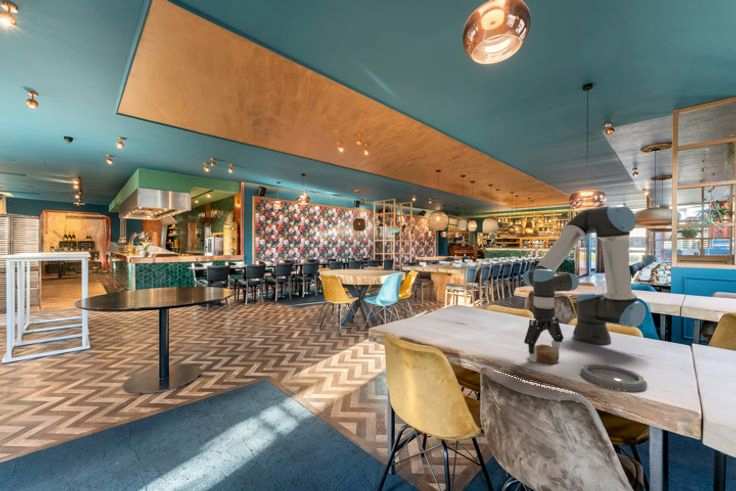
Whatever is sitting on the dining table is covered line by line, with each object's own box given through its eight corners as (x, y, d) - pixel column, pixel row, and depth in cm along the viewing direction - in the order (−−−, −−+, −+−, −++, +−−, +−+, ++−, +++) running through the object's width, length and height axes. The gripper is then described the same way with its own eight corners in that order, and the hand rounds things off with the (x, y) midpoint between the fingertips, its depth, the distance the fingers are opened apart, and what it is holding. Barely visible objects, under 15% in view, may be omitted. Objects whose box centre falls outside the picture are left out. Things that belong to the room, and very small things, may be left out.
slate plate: (600, 366, 117) (600, 360, 117) (659, 385, 100) (659, 379, 100) (568, 373, 110) (568, 367, 110) (625, 395, 93) (625, 388, 93)
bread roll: (553, 374, 118) (563, 357, 116) (526, 358, 123) (535, 342, 121) (553, 366, 126) (562, 350, 124) (528, 351, 131) (537, 336, 129)
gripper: (556, 303, 132) (556, 352, 132) (514, 307, 123) (514, 360, 123) (573, 306, 125) (573, 358, 125) (530, 310, 116) (530, 366, 116)
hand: (544, 359), depth 124 cm, fingers open, 12 cm apart
